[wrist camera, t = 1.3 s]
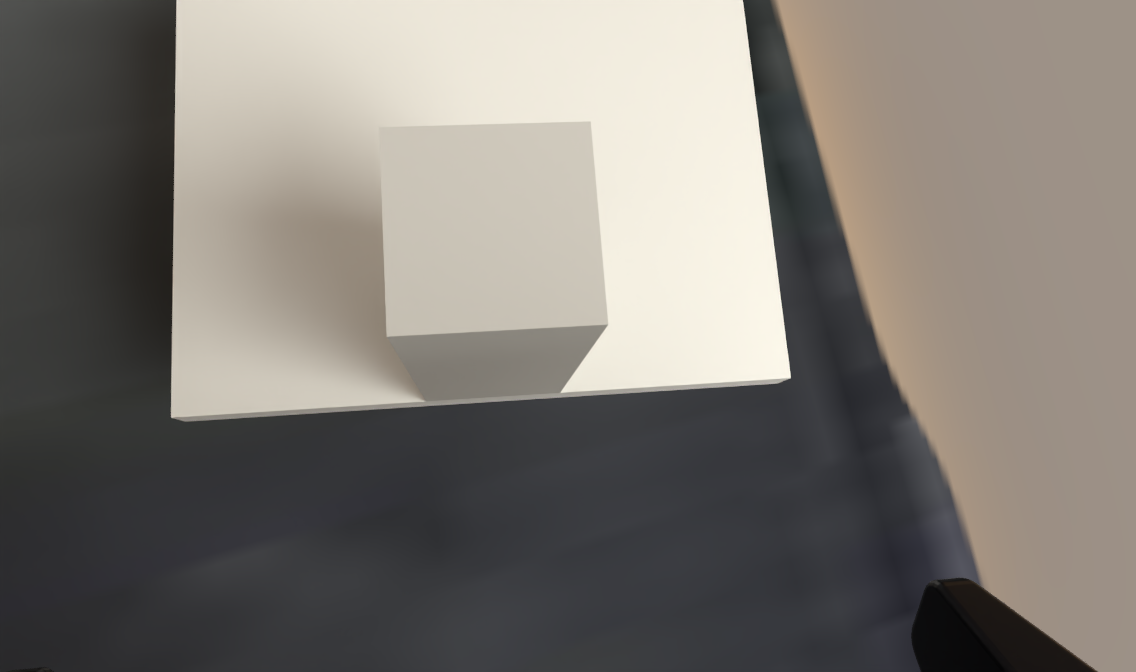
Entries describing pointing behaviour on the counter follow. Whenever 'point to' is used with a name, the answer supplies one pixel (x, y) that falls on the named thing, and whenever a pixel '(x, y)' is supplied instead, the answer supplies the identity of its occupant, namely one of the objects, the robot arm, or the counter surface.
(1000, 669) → the robot arm
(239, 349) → the lid
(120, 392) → the counter surface
